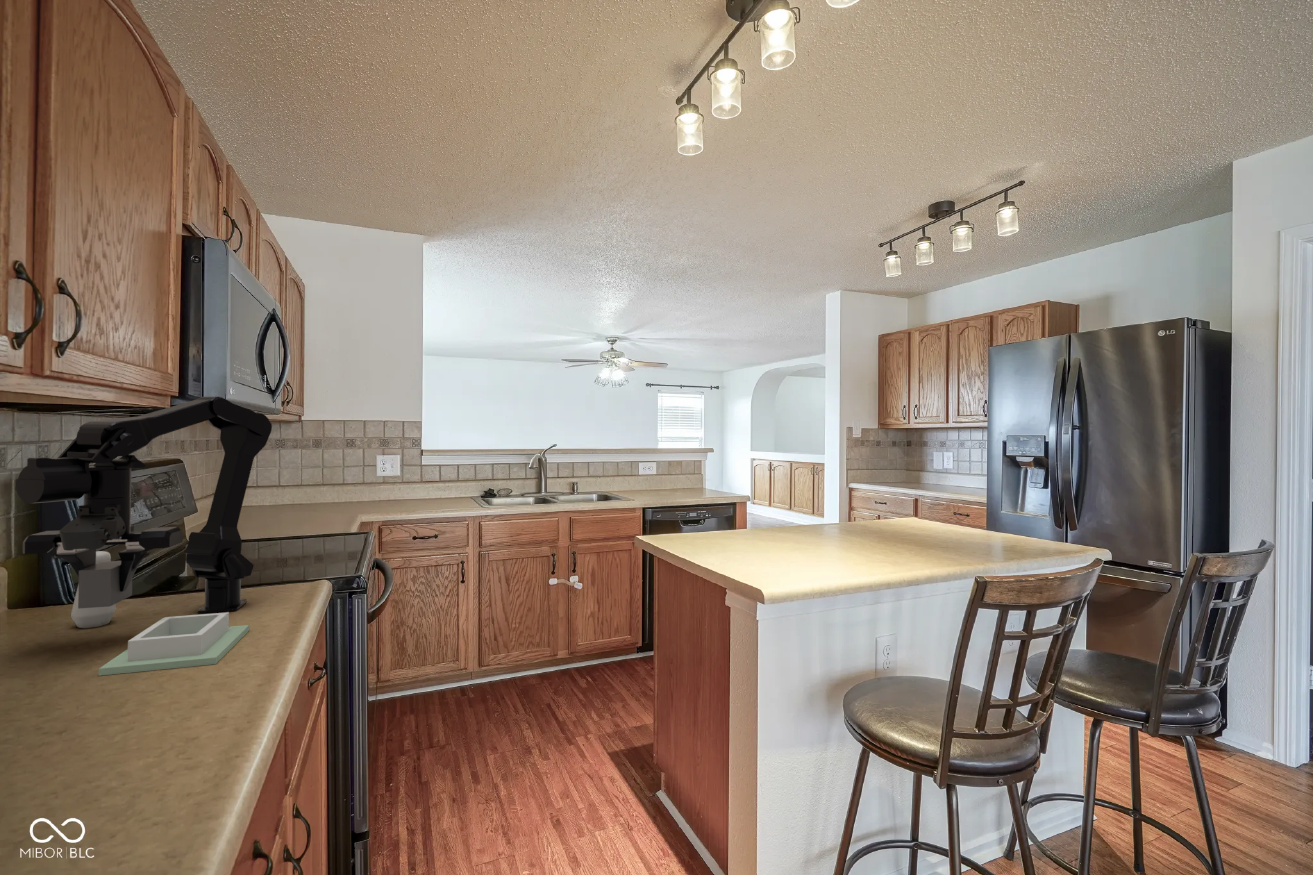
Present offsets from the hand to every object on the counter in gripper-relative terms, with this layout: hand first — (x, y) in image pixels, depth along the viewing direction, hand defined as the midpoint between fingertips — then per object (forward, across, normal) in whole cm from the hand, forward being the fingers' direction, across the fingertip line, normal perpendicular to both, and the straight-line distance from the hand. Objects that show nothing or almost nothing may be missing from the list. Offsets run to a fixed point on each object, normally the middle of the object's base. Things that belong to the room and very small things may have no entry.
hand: (106, 592), depth 96 cm
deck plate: (+8, +13, -8) cm, 17 cm away
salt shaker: (+9, -7, +12) cm, 16 cm away
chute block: (+2, 0, 0) cm, 2 cm away
